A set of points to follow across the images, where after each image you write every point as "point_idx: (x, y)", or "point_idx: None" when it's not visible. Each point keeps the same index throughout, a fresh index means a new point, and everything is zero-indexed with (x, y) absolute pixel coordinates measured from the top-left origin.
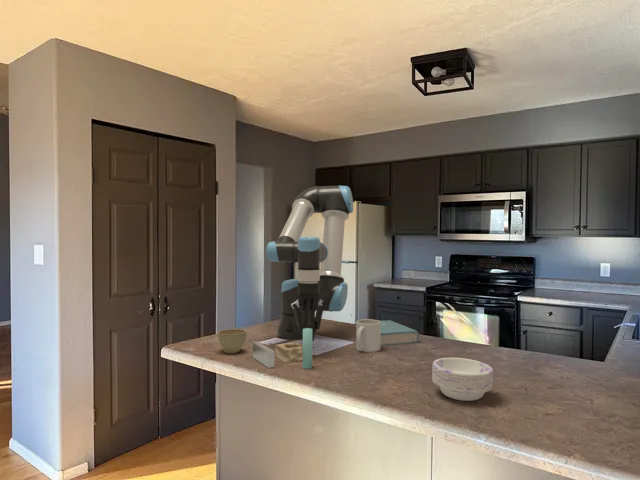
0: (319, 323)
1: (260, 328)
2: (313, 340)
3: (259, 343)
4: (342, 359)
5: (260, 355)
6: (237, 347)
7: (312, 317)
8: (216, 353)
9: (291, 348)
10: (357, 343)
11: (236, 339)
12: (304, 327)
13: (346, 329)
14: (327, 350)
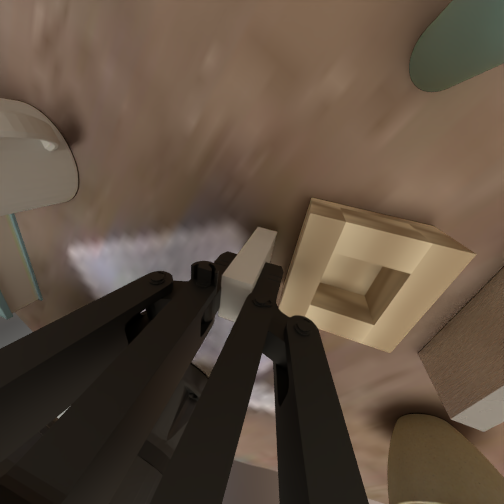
0: (115, 297)
1: None
2: (226, 252)
3: (491, 405)
4: (180, 81)
5: None
6: (449, 436)
7: (128, 393)
8: (479, 449)
9: (401, 257)
10: (42, 130)
11: (494, 486)
12: (266, 335)
13: None
14: (171, 239)
